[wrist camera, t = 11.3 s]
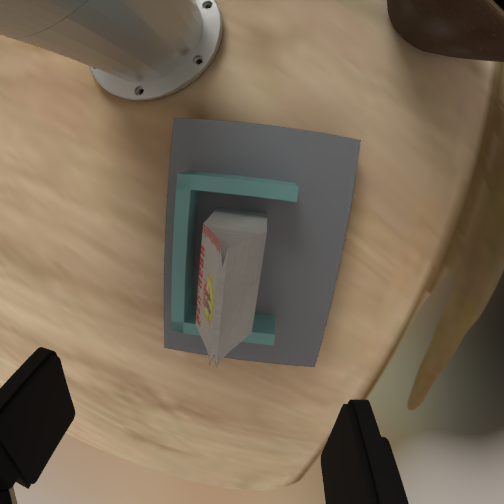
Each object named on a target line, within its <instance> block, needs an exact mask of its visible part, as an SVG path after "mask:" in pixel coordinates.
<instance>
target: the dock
mask: <svg viewBox="0 0 504 504" xmlns="http://www.w3.org/2000/svg"><path fill="white" fill-rule="evenodd" d="M360 141H361V140H357V139H352V138H346V137H341V136H336V135H330V134H325V133H319V132H313V131H306V130H300V129H293V128H286V127H278V126H271V125H262V124H253V123H244V122H233V121H221V120H207V119H190V118H174V126H173V135H172V145H171V156H170V167H169V180H168V194H167V210H166V229H165V257H164V347H165V348H169V349H174V350H180V351H186V352H191V353H198V354H204V355H208V353H207V349H206V346H205V344H204V342H203V340H202V338H201V336H200V333H199V331H198V329H197V327H196V310H197V295H198V280H199V267H200V255H201V243H202V232H203V223H204V222H205V221H206V220H207V219H208V218H209V217H210V215H211V214H212V213H213V212H214V211H215V210H216V209H217V208H218V207H226V208H233V209H241V210H248V211H256V212H263V213H267V235H266V241H265V248H264V255H263V262H262V268H261V275H260V282H259V288H258V295H257V302H256V308H255V315H254V321H253V328H252V333H251V334H250V335H249V336H248V337H246V338H245V339H244V340H243V341H242V342H240V343H239V344H238V345H237V346H236V347H234V348H233V349H232V350H231V351H230V352H229V353H228V354H227V355H226V356H225V357H224V358H232V359H239V360H247V361H256V362H264V363H274V364H284V365H295V366H308V367H315V364H316V361H317V357H318V353H319V350H320V346H321V342H322V338H323V334H324V330H325V326H326V322H327V318H328V314H329V310H330V306H331V302H332V297H333V293H334V289H335V284H336V280H337V275H338V270H339V266H340V261H341V256H342V251H343V246H344V241H345V236H346V230H347V225H348V219H349V214H350V208H351V202H352V196H353V190H354V184H355V177H356V170H357V164H358V156H359V149H360ZM213 356H214V355H213Z"/></svg>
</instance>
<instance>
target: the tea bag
mask: <svg viewBox="0 0 504 504" xmlns="http://www.w3.org/2000/svg"><path fill="white" fill-rule="evenodd" d="M266 235H267V213H263V212H256V211H248V210H241V209H233V208H226V207H218V208H217V209H216V210H215V211H214V212H213V213H212V214H211V215H210V217H209V218H208V219H207V220H206V221H205V222H204V223H203V232H202V243H201V255H200V267H199V280H198V295H197V310H196V327H197V329H198V331H199V333H200V336H201V338H202V340H203V342H204V344H205V346H206V349H207V353H208V356H209V362H210V364H211V361H212V358H213V355H214V356H215V363H216V367H217V365H218V364H219V362H220V361H221V360H222V359H223V358H224V357H225V356H226V355H227V354H228V353H229V352H230V351H231V350H232V349H233V348H234V347H236V346H237V345H238V344H239V343H240V342H242V341H243V340H244V339H245V338H246V337H248V336H249V335H250V334H251V333H252V328H253V321H254V315H255V308H256V302H257V295H258V288H259V282H260V275H261V268H262V262H263V255H264V248H265V241H266Z"/></svg>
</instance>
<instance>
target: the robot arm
mask: <svg viewBox="0 0 504 504" xmlns="http://www.w3.org/2000/svg"><path fill="white" fill-rule="evenodd" d="M208 7H211V8H209V9H207V8H208ZM222 33H223V21H222V16H221V12H220V9H219V7H218V4H217V2H216V1H215V0H0V35H4V36H6V37H9V38H12V39H16V40H19V41H22V42H25V43H28V44H31V45H34V46H37V47H40V48H43V49H46V50H49V51H52V52H54V53H57V54H60V55H63V56H65V57H68V58H71V59H73V60H76V61H79V62H81V63H84V64H86V65H89V67H90V70H91V73H92V75H93V76H94V78H95V80H96V81H97V82H98V83H99V84H100V86H101V87H102V88H103V89H105V90H106V91H108V92H110V93H111V94H113V95H116V96H118V97H121V98H125V99H129V100H135V101H147V100H154V99H159V98H162V97H165V96H169V95H171V94H173V93H175V92H177V91H179V90H181V89H183V88H185V87H186V86H187V85H189V84H190V83H192V82H193V81H194V80H196V79H197V78H198V77H199V76H200V75H201V74H202V73H203V72H204V71H205V70H206V68H207V67H208V66H209V64H210V63H211V61H212V60H213V59H214V57H215V55H216V53H217V50H218V48H219V46H220V42H221V38H222ZM199 60H202V63H201V64H199V65H198V64H197V62H198V61H199ZM142 90H144V92H143V94H141V91H142ZM74 417H75V409H74V406H73V403H72V400H71V396H70V393H69V390H68V386H67V383H66V379H65V376H64V372H63V368H62V365H61V361H60V358H59V357H57V354H56V352H54V351H52V350H49V349H46V348H43V347H40V348H38V349H37V350H36V351H35V352H34V353H33V354H32V355H31V356H30V357H29V358H28V359H27V360H26V361H25V362H24V363H23V365H22V366H21V367H20V368H19V369H18V370H17V371H16V372H15V373H14V374H13V375H12V376H11V377H10V378H9V380H8V381H7V382H6V383H5V384H4V385H3V386H2V387H1V388H0V504H17V500H16V496H15V492H14V488H13V485H14V484H15V482H17V483H19V484H21V485H23V486H24V487H26V488H29V487H30V485H31V484H34V483H35V482H36V481H37V480H38V478H39V476H40V474H41V473H42V471H43V469H44V467H45V466H46V464H47V462H48V460H49V459H50V457H51V456H52V454H53V452H54V450H55V449H56V447H57V445H58V444H59V442H60V440H61V439H62V437H63V435H64V434H65V432H66V431H67V429H68V427H69V426H70V424H71V423H72V421H73V419H74ZM321 467H322V475H323V483H324V492H325V500H326V504H408V500H407V497H406V493H405V490H404V487H403V484H402V480H401V477H400V474H399V471H398V468H397V465H396V462H395V459H394V455H393V453H392V449H391V446H390V443H389V441H388V439H386V438H385V437H381V435H380V432H379V429H378V426H377V423H376V420H375V417H374V414H373V411H372V408H371V405H370V403H369V401H368V400H350V401H349V402H348V404H343V406H342V408H341V410H340V413H339V415H338V418H337V420H336V422H335V425H334V427H333V429H332V432H331V434H330V436H329V438H328V441H327V443H326V445H325V447H324V449H323V451H322V454H321Z"/></svg>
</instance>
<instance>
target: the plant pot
mask: <svg viewBox="0 0 504 504" xmlns="http://www.w3.org/2000/svg"><path fill="white" fill-rule="evenodd" d="M387 5H388V13H389V17H390V19H391V22H392V23H393V25H394V27H395V29H396V30H397V31H398V32H399V34H400V35H401V36H402V37H403V38H404V39H405V40H406V41H408V42H409V43H410V44H412V45H413V46H415V47H416V48H418V49H420V50H423V51H426V52H430V53H434V54H440V55H445V56H450V57H457V58H465V59H474V60H486V61H498V62H504V0H387Z"/></svg>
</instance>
